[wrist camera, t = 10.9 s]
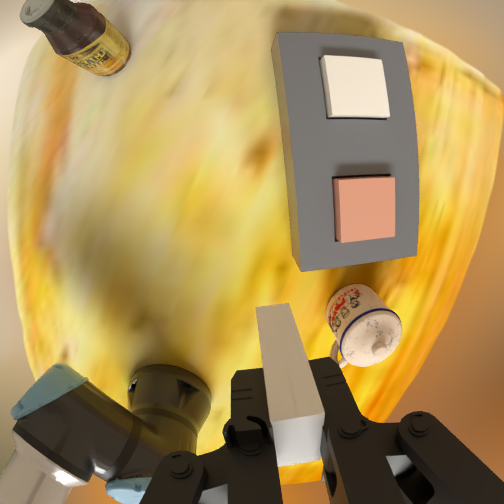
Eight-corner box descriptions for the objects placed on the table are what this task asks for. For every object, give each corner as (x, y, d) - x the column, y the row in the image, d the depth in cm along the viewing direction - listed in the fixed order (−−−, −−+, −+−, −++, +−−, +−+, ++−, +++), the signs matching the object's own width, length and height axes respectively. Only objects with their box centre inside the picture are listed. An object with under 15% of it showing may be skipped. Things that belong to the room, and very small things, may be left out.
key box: (292, 255, 40) (301, 272, 35) (271, 49, 31) (276, 32, 26) (396, 242, 41) (416, 255, 35) (382, 54, 32) (402, 42, 26)
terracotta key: (330, 233, 36) (341, 243, 32) (327, 177, 34) (338, 180, 30) (380, 228, 36) (394, 236, 32) (379, 174, 34) (394, 177, 30)
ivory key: (322, 119, 32) (332, 115, 28) (315, 65, 29) (324, 55, 26) (375, 119, 32) (390, 116, 28) (367, 67, 29) (381, 59, 26)
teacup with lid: (346, 271, 42) (379, 310, 31) (387, 295, 43) (424, 334, 32) (301, 334, 45) (318, 385, 34) (344, 352, 46) (367, 400, 35)
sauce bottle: (90, 80, 31) (-3, 46, 12) (97, 41, 29) (17, -10, 10) (131, 76, 32) (51, 25, 13) (139, 36, 30) (73, -33, 11)
